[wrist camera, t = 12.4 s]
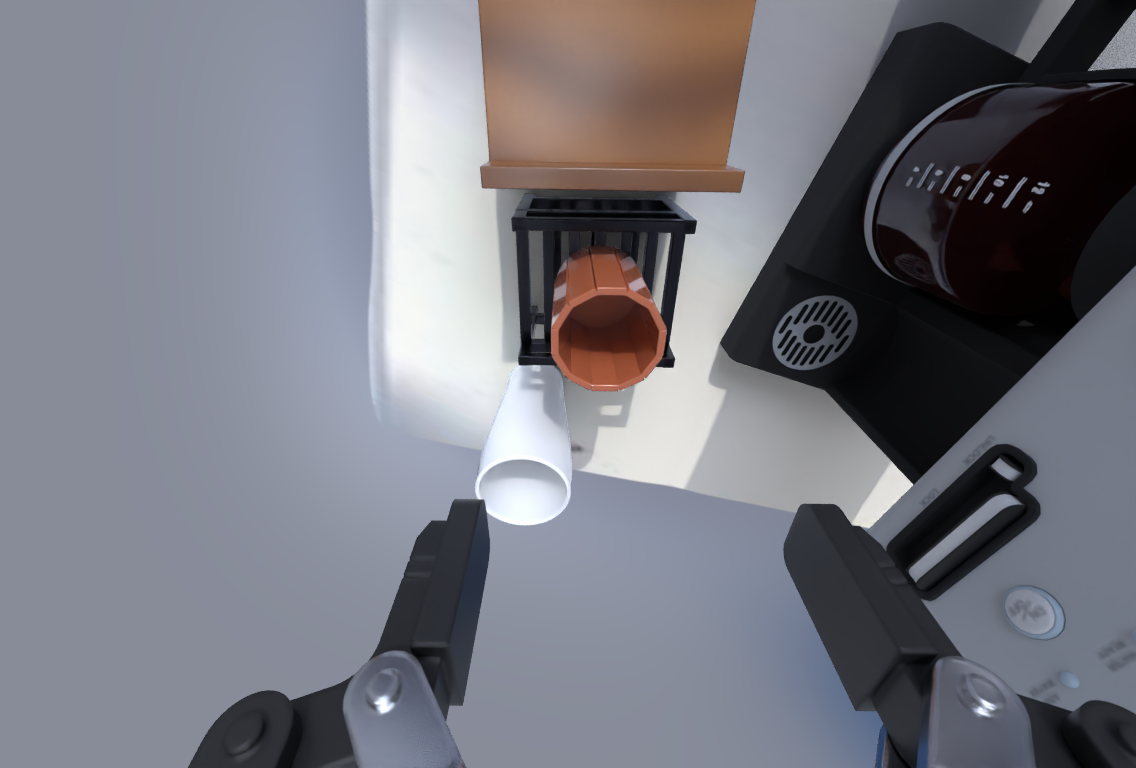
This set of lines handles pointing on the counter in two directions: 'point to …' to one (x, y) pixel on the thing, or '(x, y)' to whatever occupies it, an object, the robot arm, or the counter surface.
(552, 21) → the wooden open box
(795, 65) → the counter surface
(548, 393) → the drinking glass
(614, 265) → the cup
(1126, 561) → the coffee maker
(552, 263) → the rack
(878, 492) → the counter surface
